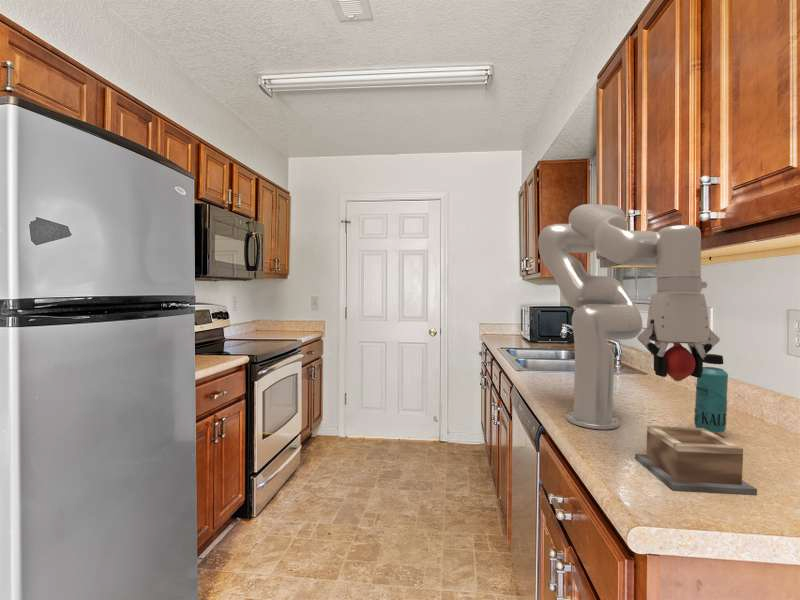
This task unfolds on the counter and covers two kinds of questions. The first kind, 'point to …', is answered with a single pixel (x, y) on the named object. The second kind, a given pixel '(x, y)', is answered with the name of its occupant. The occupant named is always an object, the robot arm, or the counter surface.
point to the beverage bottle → (711, 396)
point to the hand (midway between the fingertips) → (677, 375)
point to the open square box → (694, 460)
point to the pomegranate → (679, 362)
